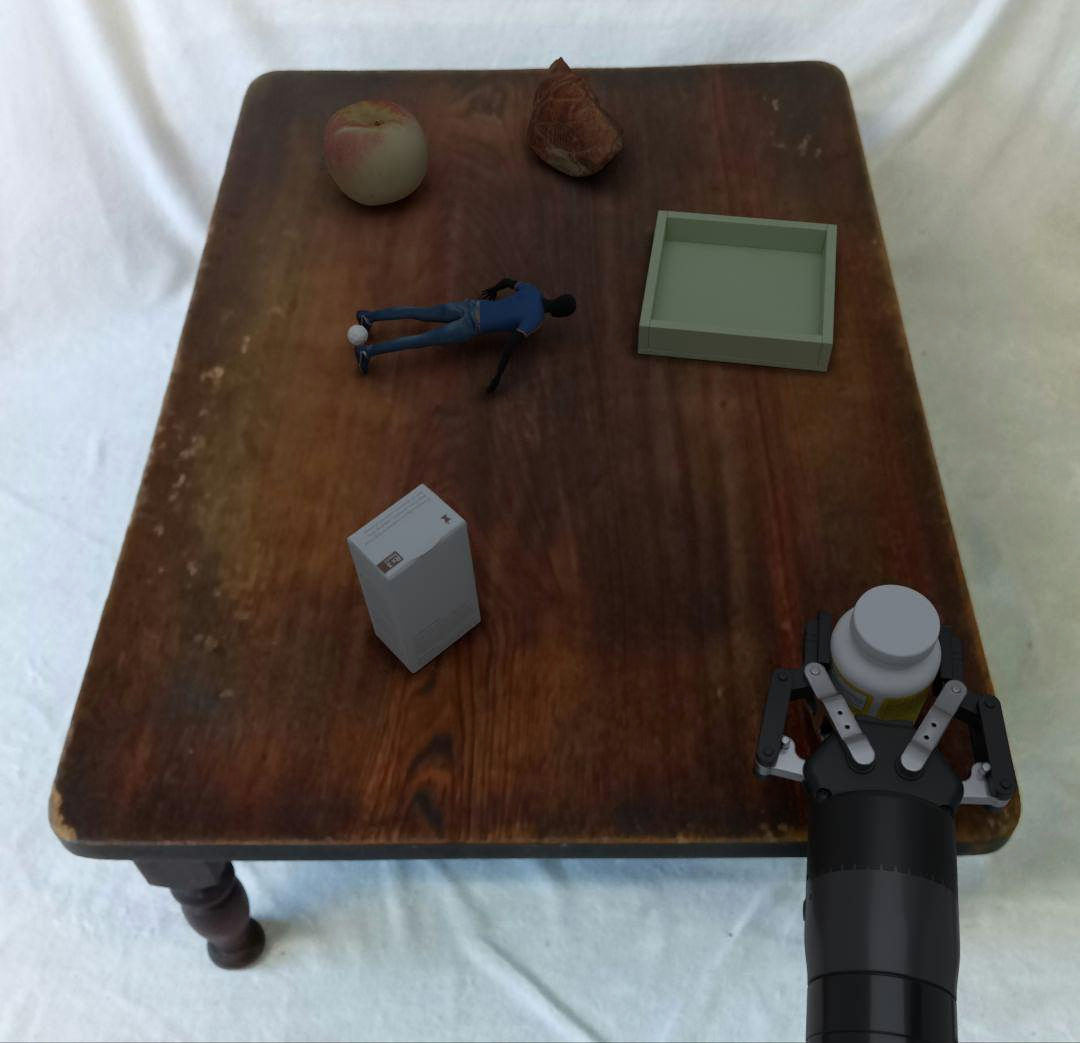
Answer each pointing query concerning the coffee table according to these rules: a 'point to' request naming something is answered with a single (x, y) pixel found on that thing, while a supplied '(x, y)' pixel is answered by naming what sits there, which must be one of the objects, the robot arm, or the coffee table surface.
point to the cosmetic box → (417, 576)
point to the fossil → (571, 124)
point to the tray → (740, 291)
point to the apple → (375, 151)
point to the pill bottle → (886, 653)
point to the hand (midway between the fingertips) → (880, 625)
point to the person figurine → (465, 322)
